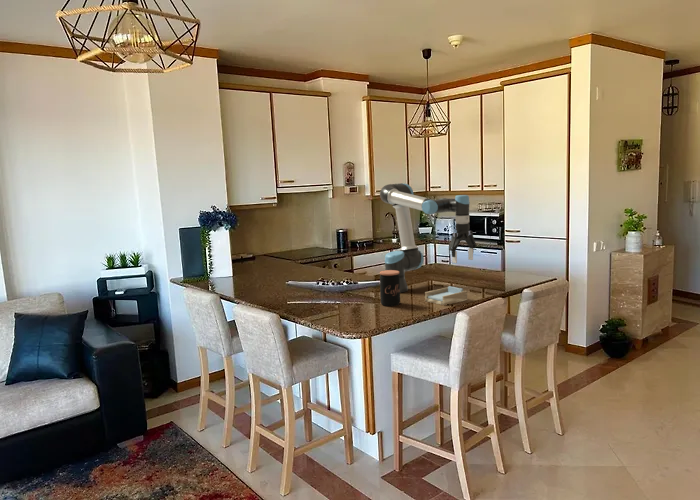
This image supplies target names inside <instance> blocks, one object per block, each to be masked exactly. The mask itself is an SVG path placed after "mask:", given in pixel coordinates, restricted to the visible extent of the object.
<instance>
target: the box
mask: <svg viewBox="0 0 700 500" xmlns="http://www.w3.org/2000/svg"><path fill="white" fill-rule="evenodd" d="M448 287H449V286H447V287H443V288H442V287H441V288H439V289H433V290H429V291H425V292H424V299H425V300H424V302H427V303H431V304H435V303H436V304H437V305H439V304H440V305H439V306H443V305H445V306H447V304H449V305H452V304H457V303H461V302H464V301H468V291H467V290H463V292H458V293H454V294H450V295H446V296H443V301H439V300H435V299H430V298H428V296H430V295H434V294H439V293H443V292H448Z"/></svg>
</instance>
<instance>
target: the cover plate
mask: <svg viewBox="0 0 700 500" xmlns="http://www.w3.org/2000/svg"><path fill="white" fill-rule="evenodd" d="M447 287H448V292H443V293H439V294H434V295H430V296H428V298H430V299H435V300H439V301H443V296H446V295H450V294H454V293H458V292H463V291H464V288H461V287H455V286H450V285H449V286H447Z"/></svg>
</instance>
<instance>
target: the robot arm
mask: <svg viewBox="0 0 700 500" xmlns="http://www.w3.org/2000/svg"><path fill="white" fill-rule="evenodd" d="M379 197H380V200H381V201H382V202H384V203H385V204H388V205H391V206H392V208H393V209H395V215H396V221H397V222H396V223H397V228H398V234H399V239H400V248H399V250H395V251H390V252H387V253H386V254H385V256H384V269H385V270H396V271H399V276H400V294H401V293H406V292H408V291H409V287H408V283H407V281H406V277H405V273H406V272H410V271H415V270H417V269H420V268H422V266H423V264H424V254H423V253H422V252H421V250H419V247H418V246H417V245H416V242H415V235H414V230H413V224H412V217H411V211H410V208H411V209H414V210H418V211H421V212H423V213H424V214H427V215H435V214H442V213H455V230H456V232H452V235H451V236H452V237H451V240H450V244H449V247H448V250H449V251H451V261H452V262H451V263H452V264H453V263H454V264H457V263H458V251H457V249H458V247H459V244H460V243H461V241H463V240H464V241H465V242H466V244H467V246H468V248H467V249H468V257H467V258H468V260H469V261H473V260H474V249H475V248H476V247H477V244H476V240H475V237H474V233H473V231H472V230H470V204H471V203H470V196H469V195H468V194H459V195H455V198H448V197H447V198H446V197H445V198H443V197H442V198H440V199H432V198H427V197H423V196H420V195H415V194H414V190H413V188H412V187H411V186H410V185H409V184H408V183H390V184H386V185H384V186H383V187H382V188H381V189H380V191H379ZM385 270H384V271H385Z"/></svg>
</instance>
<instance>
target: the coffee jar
mask: <svg viewBox="0 0 700 500" xmlns="http://www.w3.org/2000/svg"><path fill="white" fill-rule="evenodd" d="M379 289H380V290H379V292H380V295H379V296H380V303H381V305H382V306H384V307H397V306H399V305H400V303H401V293H400V276H399V271H396V270H381V271H380V272H379Z"/></svg>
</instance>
